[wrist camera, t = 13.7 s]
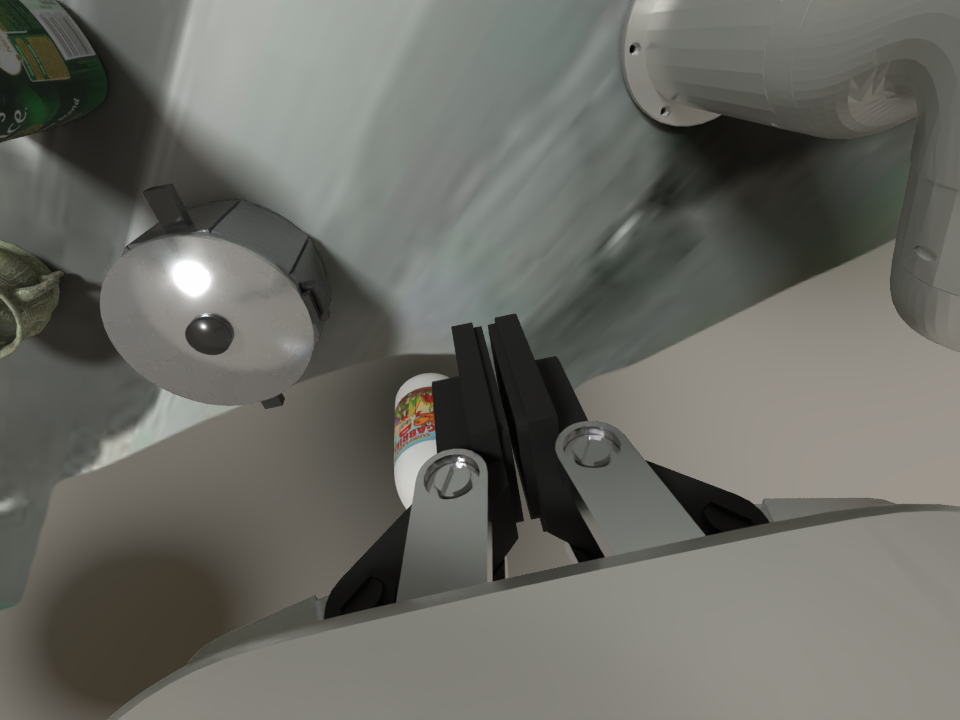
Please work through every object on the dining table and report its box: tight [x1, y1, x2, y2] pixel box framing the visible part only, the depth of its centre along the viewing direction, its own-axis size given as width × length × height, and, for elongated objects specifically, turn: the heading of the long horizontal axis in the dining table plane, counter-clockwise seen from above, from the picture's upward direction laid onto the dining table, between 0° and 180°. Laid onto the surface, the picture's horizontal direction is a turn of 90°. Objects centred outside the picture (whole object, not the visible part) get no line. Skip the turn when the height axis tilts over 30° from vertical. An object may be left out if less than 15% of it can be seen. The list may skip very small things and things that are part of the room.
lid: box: [100, 232, 321, 406], centre depth 35 cm, size 15×14×2 cm
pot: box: [122, 184, 332, 409], centre depth 39 cm, size 15×20×8 cm
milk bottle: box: [394, 373, 449, 509], centre depth 45 cm, size 8×8×20 cm
